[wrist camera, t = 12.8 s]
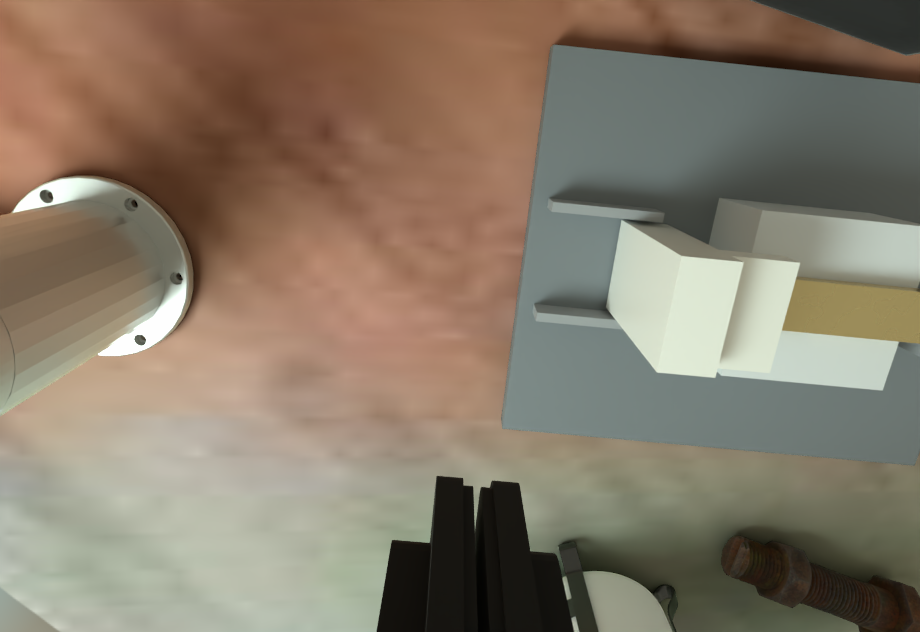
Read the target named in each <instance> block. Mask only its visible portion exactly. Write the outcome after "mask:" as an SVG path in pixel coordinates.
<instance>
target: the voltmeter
mask: <svg viewBox="0 0 920 632" xmlns="http://www.w3.org/2000/svg"><path fill="white" fill-rule="evenodd" d="M751 1H754V2H757V3H759V4H762V5H765V6H768V7H771V8H773V9H776V10H779V11H782V12H785V13H788V14H790V15H793V16H796V17H799V18H802V19H804V20H807V21H810V22H813V23H816V24H819V25H821V26H824V27H827V28H830V29H833V30H835V31H838V32H841V33H844V34H847V35H850V36H852V37H855V38H858V39H861V40H864V41H867V42H869V43H872V44H875V45H878V46H881V47H884V48H886V49H889V50H892V51H895V52H898V53H901V54H903V55H906V56H907V55H913V54H920V0H751Z"/></svg>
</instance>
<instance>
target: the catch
mask: <svg viewBox="0 0 920 632" xmlns="http://www.w3.org/2000/svg"><path fill="white" fill-rule="evenodd" d="M799 266H800V262H797V261H795V260H792V259H790V258H788V257H785V256H778V255H768V254H758V253H748V252H738V251H728V250H718V249H716V248H714V247H712V246H710V245H708V244H706V243H704V242H702V241H700V240H698V239H696V238H694V237H692V236H690V235H688V234H686V233H684V232H681V231H679V230H677V229H675V228H673V227H671V226H669V225H667V224H658V223H648V222H638V221H628V220H621V226H620V231H619V237H618V243H617V248H616V254H615V259H614V265H613V270H612V276H611V282H610V287H609V293H608V298H607V304H606V308H607V309H608V311H609V312H610V313H611V315H612V316H613V317H614V318H615V320H616V321H617V322H618V323H619V325H620V326H621V327H622V329H623V330H624V331H625V332H626V334H627V335H628V336H629V338H630V339H631V340H632V341H633V343H634V344H635V345H636V347H637V348H638V349H639V350H640V352H641V353H642V354H643V355H644V357H645V358H646V359H647V361H648V362H649V363H650V364H651V366H652V367H653V368H654V370H655V371H656V372H657V373H668V374H679V375H689V376H700V377H711V378H715V377H716V373H717V369H729V370H740V371H751V372H761V373H770V371H771V367H772V364H773V360H774V356H775V353H776V349H777V346H778V342H779V338H780V335H781V331H782V327H783V324H784V320H785V317H786V313H787V309H788V306H789V302H790V298H791V295H792V291H793V288H794V284H795V280H796V277H797V273H798V269H799Z"/></svg>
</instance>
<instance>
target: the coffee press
mask: <svg viewBox="0 0 920 632" xmlns="http://www.w3.org/2000/svg"><path fill="white" fill-rule="evenodd" d="M558 546H559V550H560V554H561V558H562V562H563V565H564V569H565V573H566V576H565V577H562V579H563V583H564V588H565V592H566V597H567V601H568V606H569V610H570V615H571V619H572V624H573V628H574V632H672V630H673V632H676V629H675V627H674V624H673V622H672V620H673V617H674V614H675V612H676V609H677V607H678V601H677V597H676V593H675V589H674V588H673V587H672V586H670V585H661V586H659V587H658V588H657V589H656V590H655V591H654V593H653V594H652V593H651V592H649V591H648V590H647V589H646V588H645V587H644V586H642V585H641V584H639V583H638V582H636V581H634V580H632V579H630V578H628V577H625V576H623V575H620V574H616V573H611V572H605V571H586V572H583V570H582V567H581V563H580V560H579V556H578V553H577V549H576V546H575V542H570V543H566V544H562V545H558ZM665 598H671V600H670V602H669V605H668V616H669V620H670V623H671V627H672V629H671V627H670V625H669V622H668V620H667V618H666V615H665V613H664V611H663V609H662V607H661V605H660V604H659V603H660V602H661V601H662V600H663V599H665Z"/></svg>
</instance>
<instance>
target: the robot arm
mask: <svg viewBox="0 0 920 632" xmlns="http://www.w3.org/2000/svg"><path fill="white" fill-rule="evenodd" d="M135 201H136V202H137V204H138V206H136V205H135ZM179 273H180V274H181V275H182V278H183V279H182V278H180V277H179ZM193 274H194V272H193V267H192V261H191V256H190V253H189V251H188V248H187V245H186V243H185V240H184V238H183V236H182V235H181V233H180V231H179V230H178V228H177V226H176V225H175V223H174V222H173V221H172V219H171V218H170V217H169V216H168V215H167V213H166V212H165V211H164V210H163V209H162V208H161V207H160V206H159V205H158V204H156V203H155V202H154V201H153V200H152V199H150V198H149V197H148V196H147V195H145V194H143V193H142V192H140V191H138V190H137V189H135V188H133V187H132V186H129V185H127V184H124V183H122V182H119V181H117V180H114V179H110V178H104V177H99V176H71V177H64V178H58V179H55V180H52V181H49V182H46V183H43V184H42V185H40V186H38V187H36V188H35V189H33V190H31V191H30V192H29V193H27V194H26V195H25V196H24V197H23V198H22V199H21V200H20V201H19V202H18V203H17V205H16V206H15V208H14V209H13V211H12V213H9V214H4V215H0V416H1V415H3V414H4V413H6V412H8V411H9V410H11V409H12V408H14V407H16V406H17V405H19V404H20V403H22V402H23V401H25V400H27V399H28V398H30V397H31V396H33V395H35V394H36V393H38V392H39V391H41V390H42V389H44V388H46V387H47V386H49V385H50V384H52V383H54V382H55V381H57V380H58V379H60V378H61V377H63V376H65V375H66V374H68V373H69V372H71V371H73V370H74V369H76V368H77V367H79V366H80V365H82V364H84V363H85V362H87V361H88V360H90V359H91V358H93V357H95V356H96V355H100V356H124V355H130V354H135V353H138V352H141V351H143V350H146V349H148V348H151V347H152V346H154V345H155V344H157V343H158V342H160V341H162V340H163V339H164V338H165V337H167V336H168V335H169V334H170V333H171V332H173V331H174V330H175V329H176V327H177V326H178V325H179V323H180V322H181V321H182V319H183V318H184V316H185V314H186V312H187V309H188V307H189V305H190V302H191V297H192V293H193ZM144 336H145V337H146V338H145V337H144ZM377 632H574V628H573V624H572V619H571V615H570V610H569V606H568V601H567V597H566V592H565V588H564V583H563V579H562V574H561V570H560V566H559V561H558V558H557V556H556V554H555V553H543V552H531V551H530V547H529V541H528V535H527V528H526V522H525V516H524V510H523V504H522V498H521V491H520V486H519V483H513V482H501V481H492V482H491V486H490V488H486V487H481V490H480V496H479V504H478V512H477V520H476V528H475V526H474V497H473V486H463V478H455V477H443V476H437V478H436V488H435V498H434V508H433V518H432V528H431V538H430V543H422V542H410V541H398V540H392V543H391V549H390V555H389V561H388V567H387V573H386V579H385V585H384V591H383V597H382V603H381V609H380V615H379V621H378V627H377Z"/></svg>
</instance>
